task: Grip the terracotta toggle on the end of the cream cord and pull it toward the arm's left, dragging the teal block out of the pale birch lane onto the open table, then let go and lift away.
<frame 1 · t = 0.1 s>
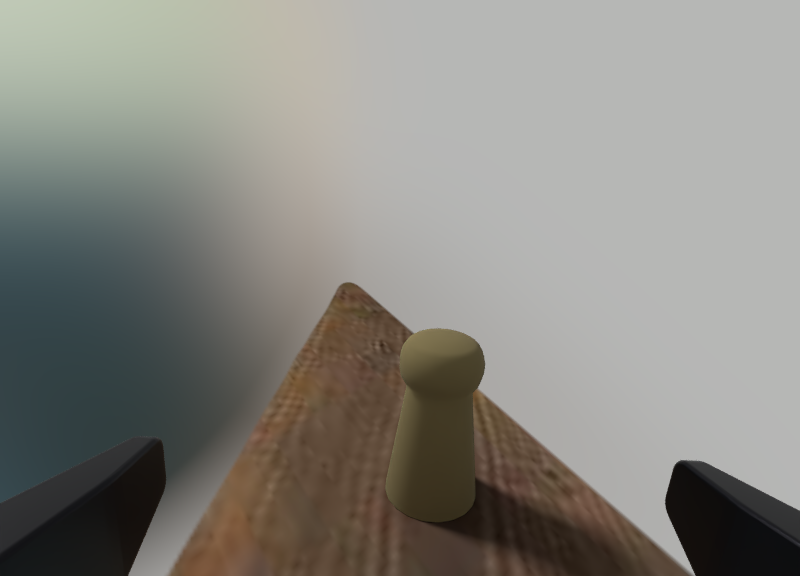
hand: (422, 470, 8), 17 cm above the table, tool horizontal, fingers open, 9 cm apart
cork: (429, 490, 32), on the table
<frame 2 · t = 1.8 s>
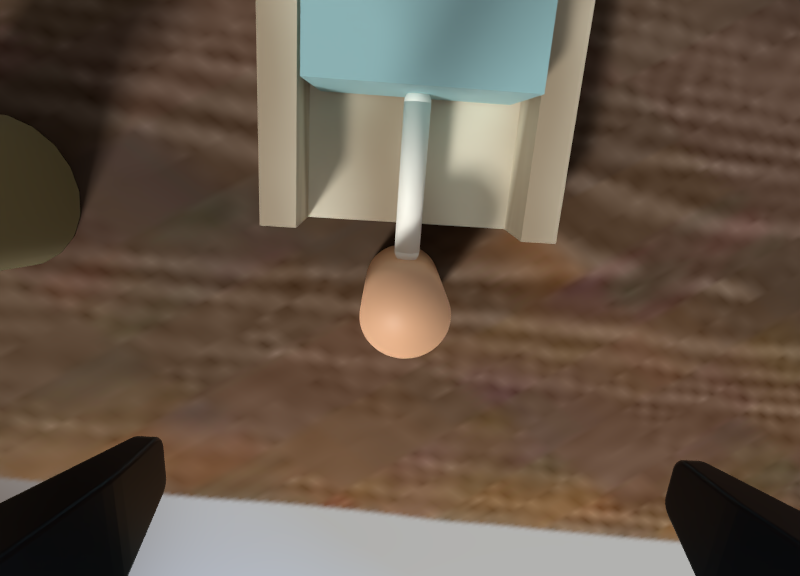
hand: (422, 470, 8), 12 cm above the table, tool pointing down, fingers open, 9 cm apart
lane: (415, 86, 18), on the table
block: (413, 164, 16), point 3 cm above the table, slide at 0.0 cm
cork: (5, 192, 19), on the table
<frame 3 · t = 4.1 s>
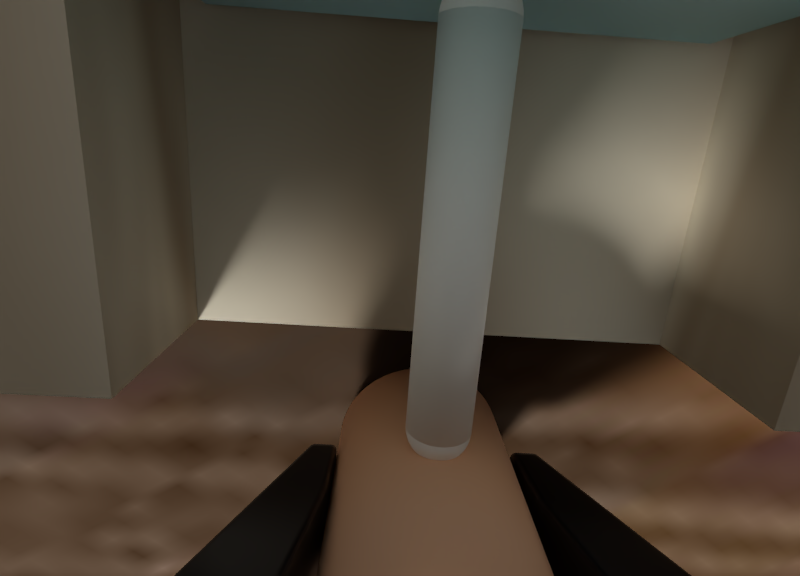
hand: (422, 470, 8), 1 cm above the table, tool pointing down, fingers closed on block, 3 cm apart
lane: (455, 5, 7), on the table
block: (462, 208, 6), point 3 cm above the table, slide at 0.0 cm, touching gripper
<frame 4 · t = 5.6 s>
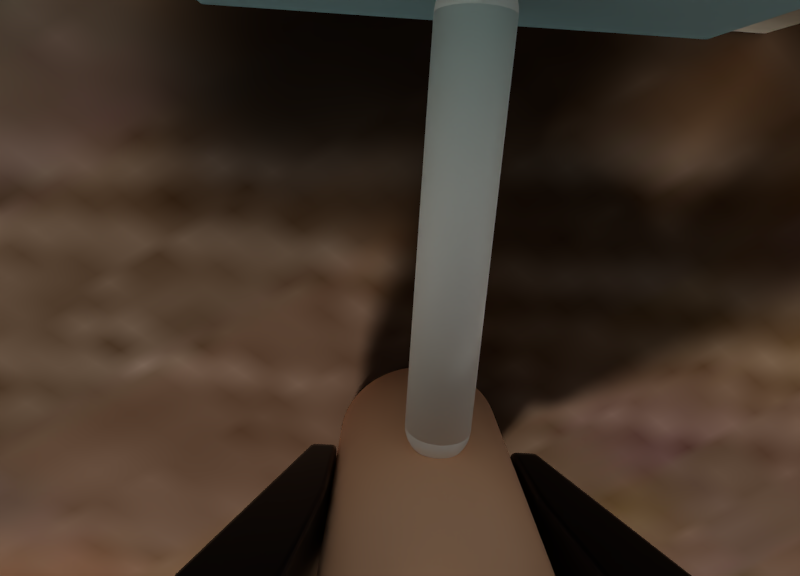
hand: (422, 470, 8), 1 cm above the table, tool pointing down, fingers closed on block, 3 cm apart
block: (459, 205, 6), point 3 cm above the table, slide at 4.9 cm, touching gripper
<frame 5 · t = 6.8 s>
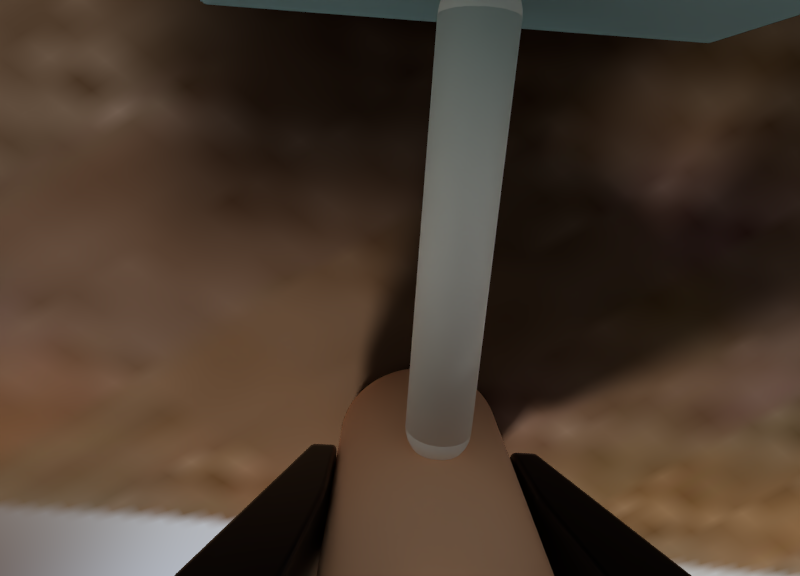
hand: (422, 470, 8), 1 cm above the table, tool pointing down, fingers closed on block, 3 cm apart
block: (461, 207, 6), point 3 cm above the table, slide at 9.4 cm, touching gripper
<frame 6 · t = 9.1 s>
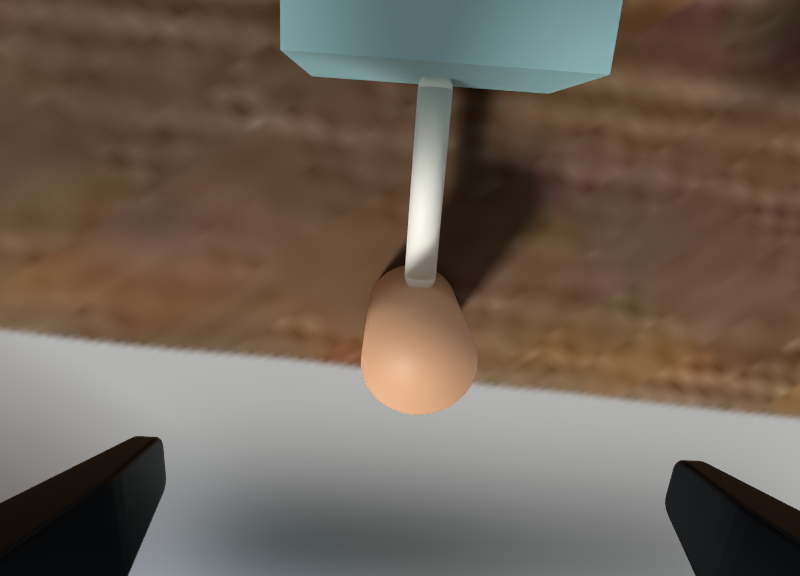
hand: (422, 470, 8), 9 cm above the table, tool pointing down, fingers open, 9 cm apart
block: (429, 168, 13), point 3 cm above the table, slide at 9.5 cm
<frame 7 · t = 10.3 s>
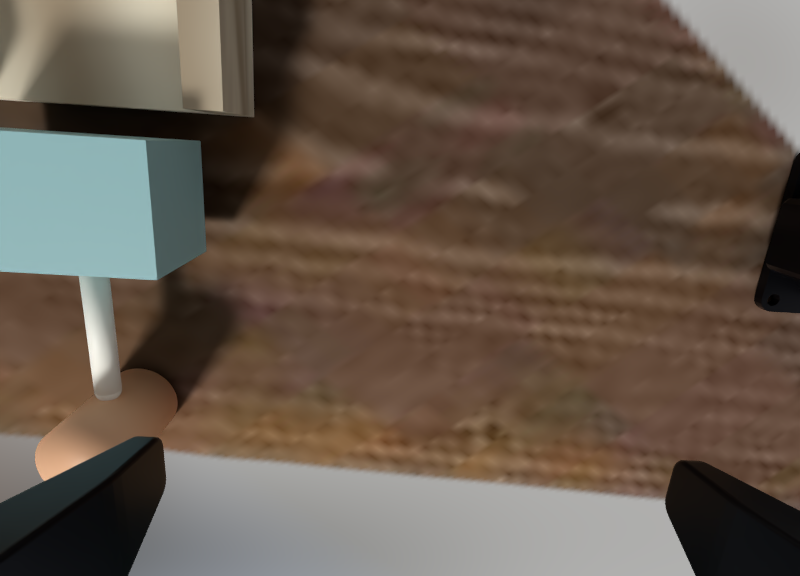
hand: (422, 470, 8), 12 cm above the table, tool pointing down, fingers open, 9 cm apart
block: (97, 316, 17), point 3 cm above the table, slide at 9.5 cm
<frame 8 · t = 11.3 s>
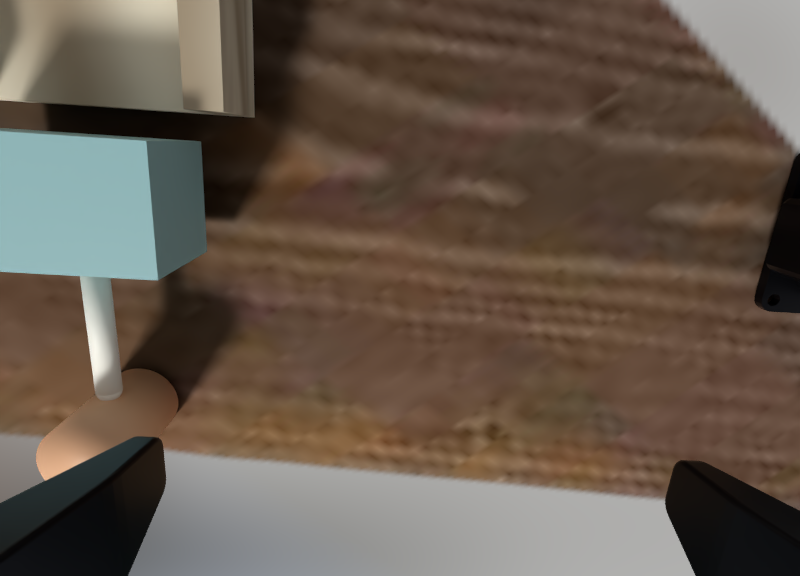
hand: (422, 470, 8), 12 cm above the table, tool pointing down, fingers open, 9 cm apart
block: (98, 316, 17), point 3 cm above the table, slide at 9.5 cm
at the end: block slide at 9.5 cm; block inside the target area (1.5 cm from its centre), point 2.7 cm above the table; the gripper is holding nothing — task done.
